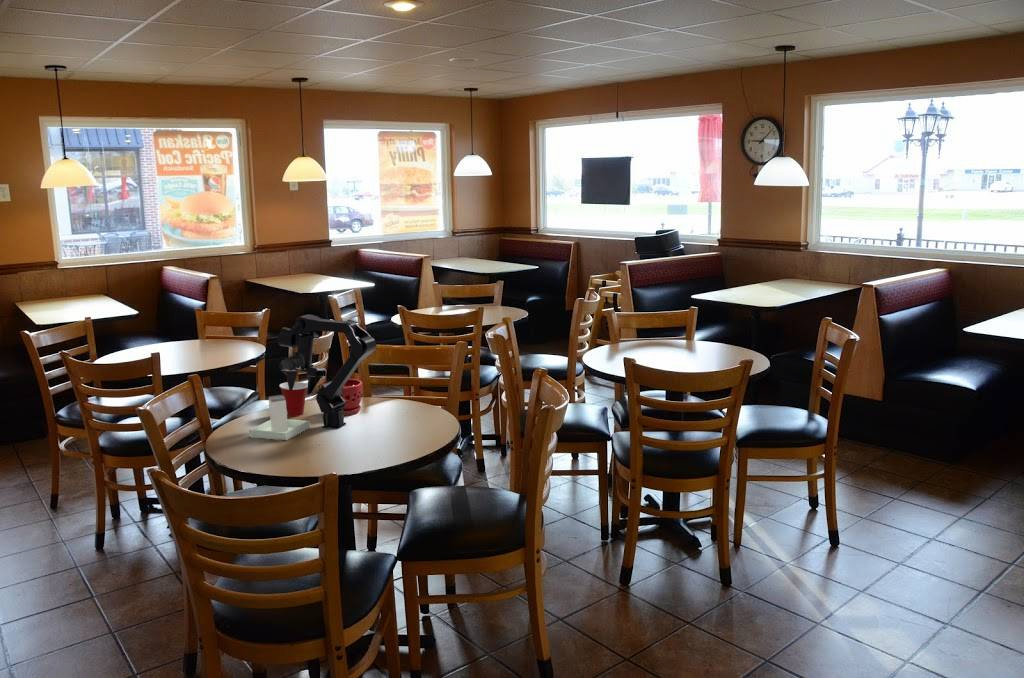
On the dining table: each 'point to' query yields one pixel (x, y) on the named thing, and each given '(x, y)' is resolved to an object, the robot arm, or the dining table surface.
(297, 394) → the plastic cup
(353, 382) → the plant pot
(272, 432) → the tray
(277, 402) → the white rectangular box
